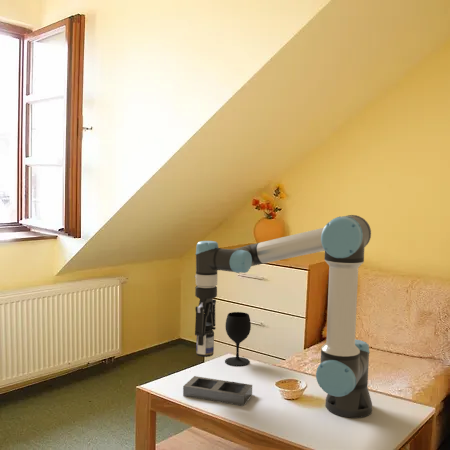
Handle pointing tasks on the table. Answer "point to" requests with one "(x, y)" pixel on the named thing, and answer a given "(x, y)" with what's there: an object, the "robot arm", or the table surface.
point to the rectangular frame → (218, 390)
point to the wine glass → (238, 335)
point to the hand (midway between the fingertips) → (205, 350)
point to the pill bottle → (208, 341)
